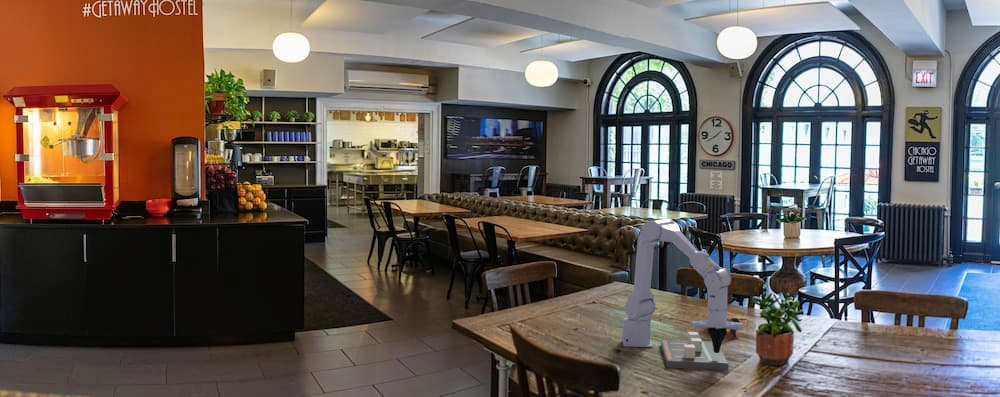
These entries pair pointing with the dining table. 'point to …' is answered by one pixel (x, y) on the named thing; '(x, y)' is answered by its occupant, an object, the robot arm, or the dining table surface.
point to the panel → (702, 360)
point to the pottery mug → (732, 332)
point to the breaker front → (689, 351)
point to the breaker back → (692, 336)
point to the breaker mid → (697, 344)
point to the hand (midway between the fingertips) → (716, 352)
